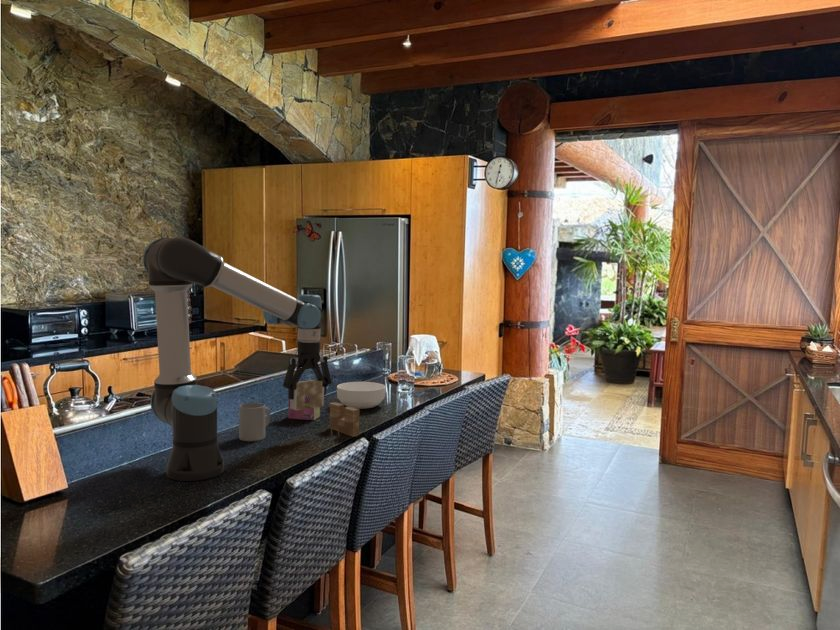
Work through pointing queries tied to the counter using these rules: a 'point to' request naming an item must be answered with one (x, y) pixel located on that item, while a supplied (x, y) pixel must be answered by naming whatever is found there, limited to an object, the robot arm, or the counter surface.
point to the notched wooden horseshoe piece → (309, 393)
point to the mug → (253, 421)
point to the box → (304, 411)
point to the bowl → (361, 394)
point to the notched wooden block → (344, 419)
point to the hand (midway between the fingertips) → (307, 407)
